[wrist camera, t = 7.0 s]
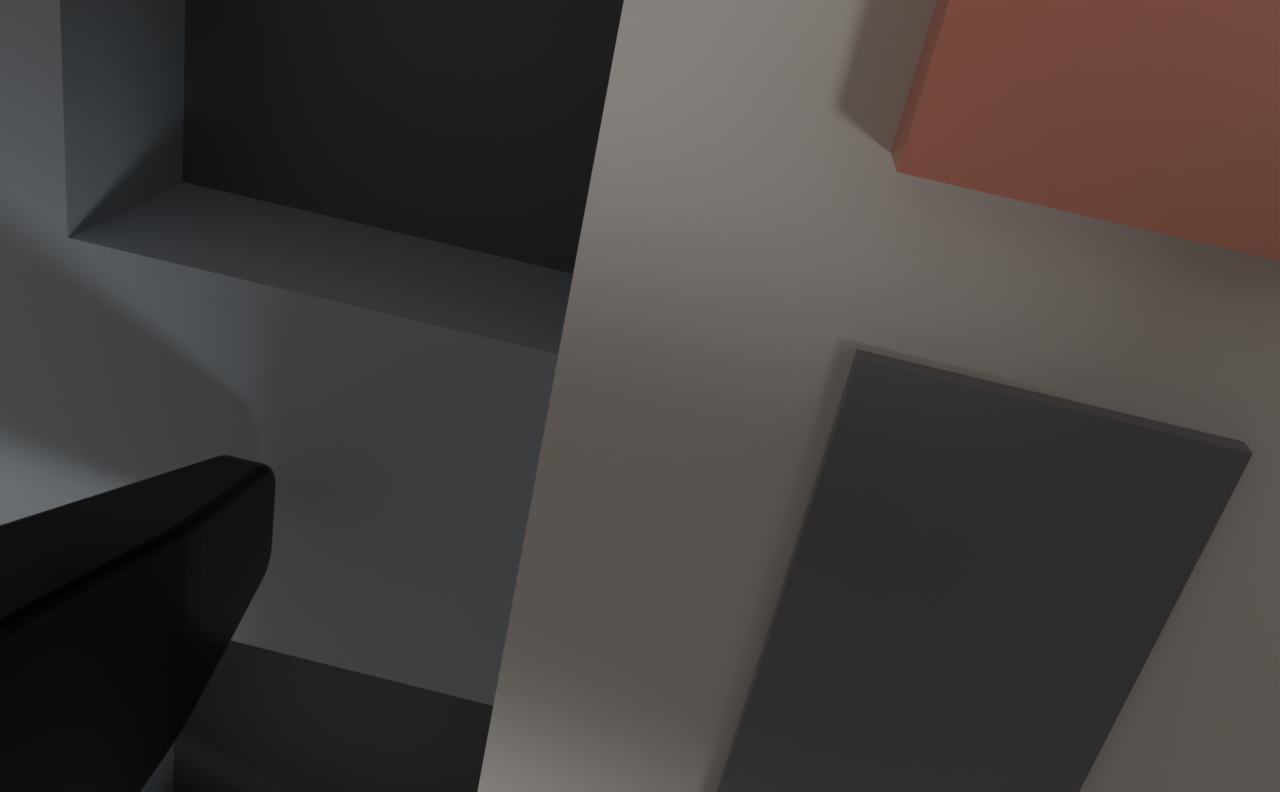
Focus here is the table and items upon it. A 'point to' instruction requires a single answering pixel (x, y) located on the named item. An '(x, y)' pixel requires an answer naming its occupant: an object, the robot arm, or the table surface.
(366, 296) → the keyhole board
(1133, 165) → the power strip
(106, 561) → the robot arm
